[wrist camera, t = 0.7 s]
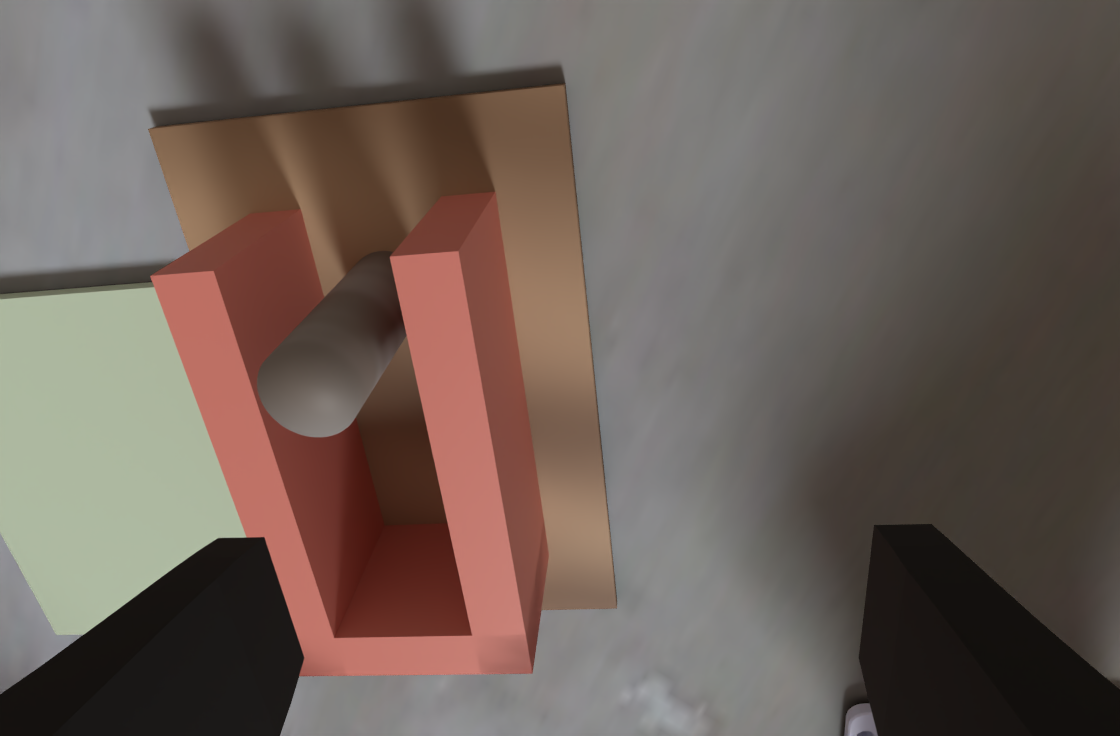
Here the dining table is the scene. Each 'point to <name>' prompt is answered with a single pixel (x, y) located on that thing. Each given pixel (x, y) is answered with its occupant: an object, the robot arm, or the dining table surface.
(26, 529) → the mat
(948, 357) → the dining table surface
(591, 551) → the stand
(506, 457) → the c link
